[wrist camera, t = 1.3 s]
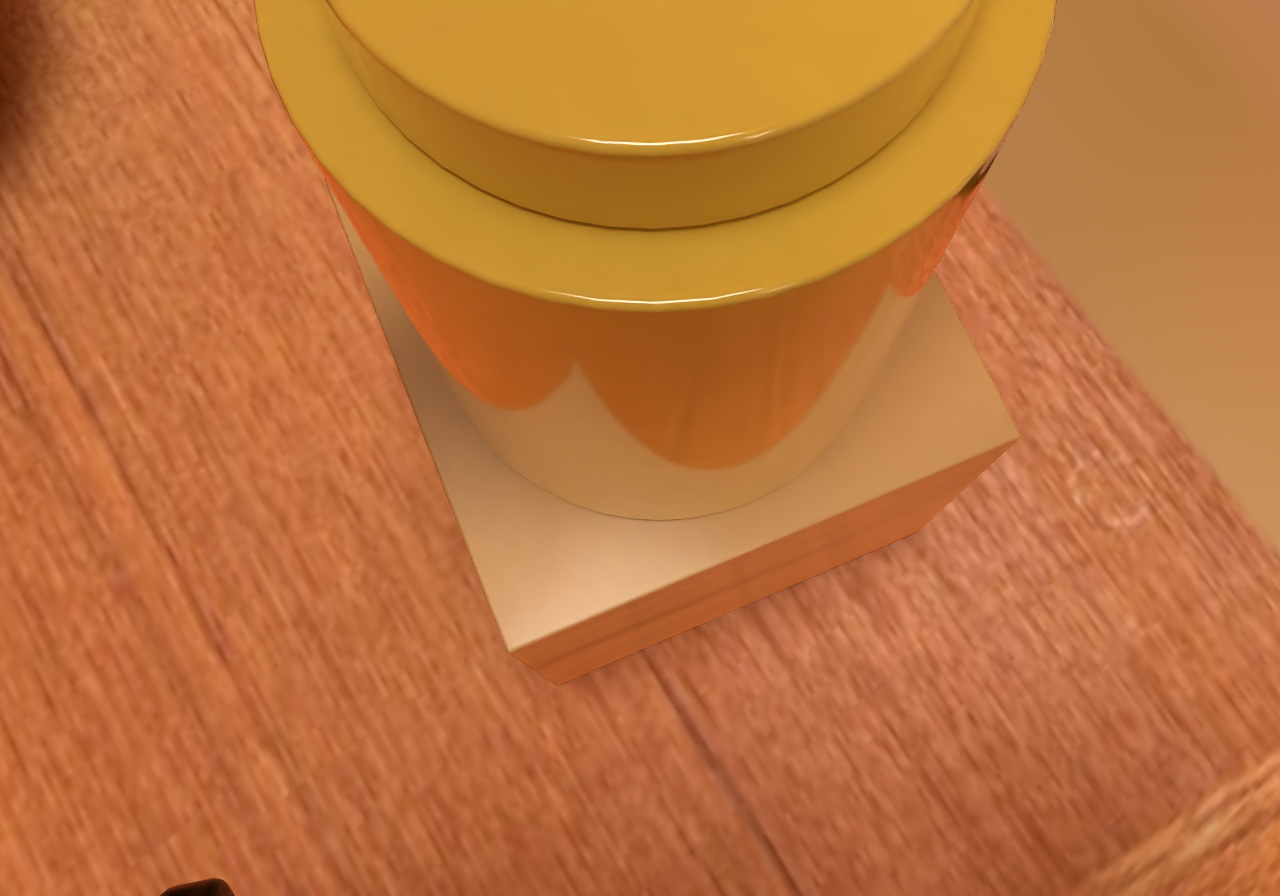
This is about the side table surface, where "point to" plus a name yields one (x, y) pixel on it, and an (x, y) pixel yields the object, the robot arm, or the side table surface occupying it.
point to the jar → (656, 210)
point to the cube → (713, 544)
